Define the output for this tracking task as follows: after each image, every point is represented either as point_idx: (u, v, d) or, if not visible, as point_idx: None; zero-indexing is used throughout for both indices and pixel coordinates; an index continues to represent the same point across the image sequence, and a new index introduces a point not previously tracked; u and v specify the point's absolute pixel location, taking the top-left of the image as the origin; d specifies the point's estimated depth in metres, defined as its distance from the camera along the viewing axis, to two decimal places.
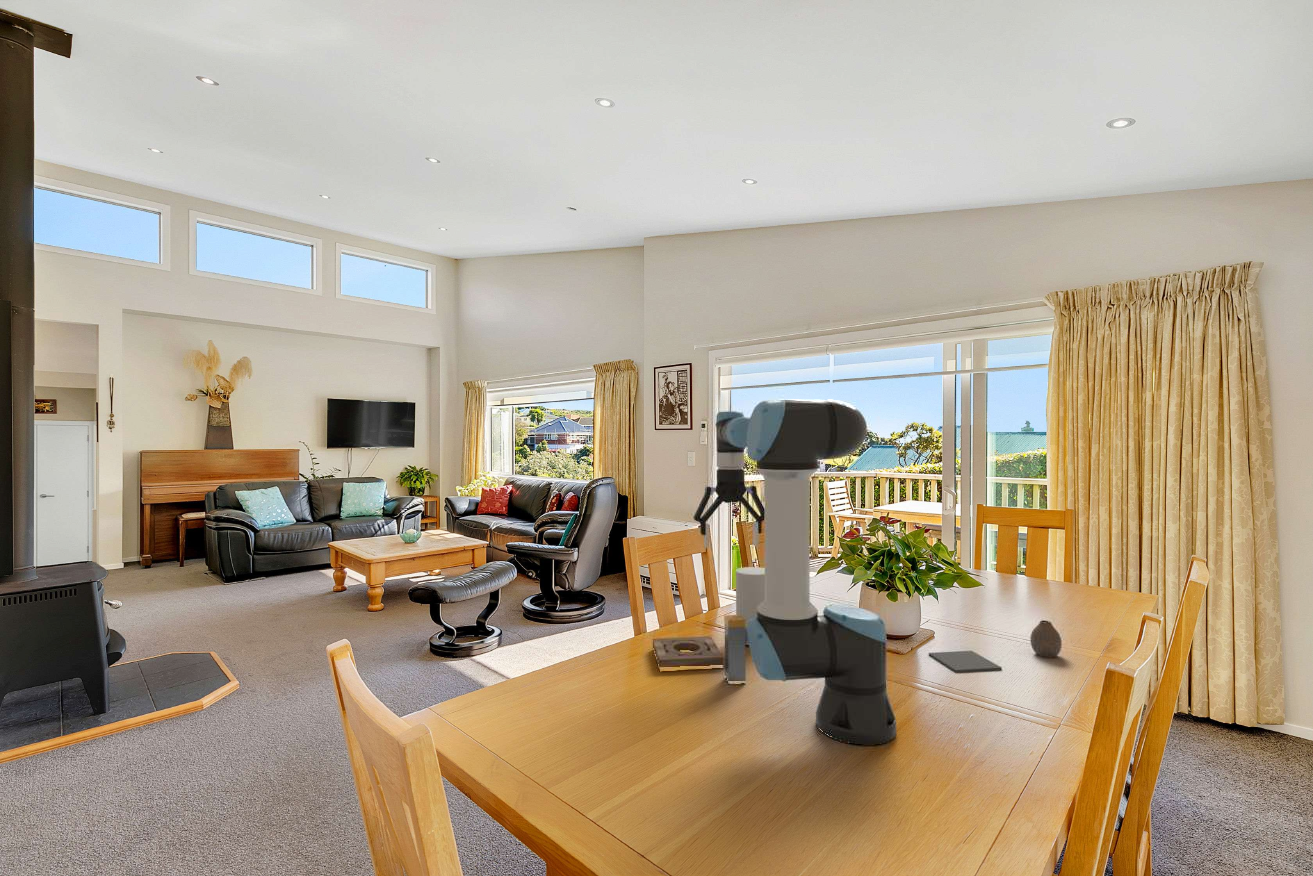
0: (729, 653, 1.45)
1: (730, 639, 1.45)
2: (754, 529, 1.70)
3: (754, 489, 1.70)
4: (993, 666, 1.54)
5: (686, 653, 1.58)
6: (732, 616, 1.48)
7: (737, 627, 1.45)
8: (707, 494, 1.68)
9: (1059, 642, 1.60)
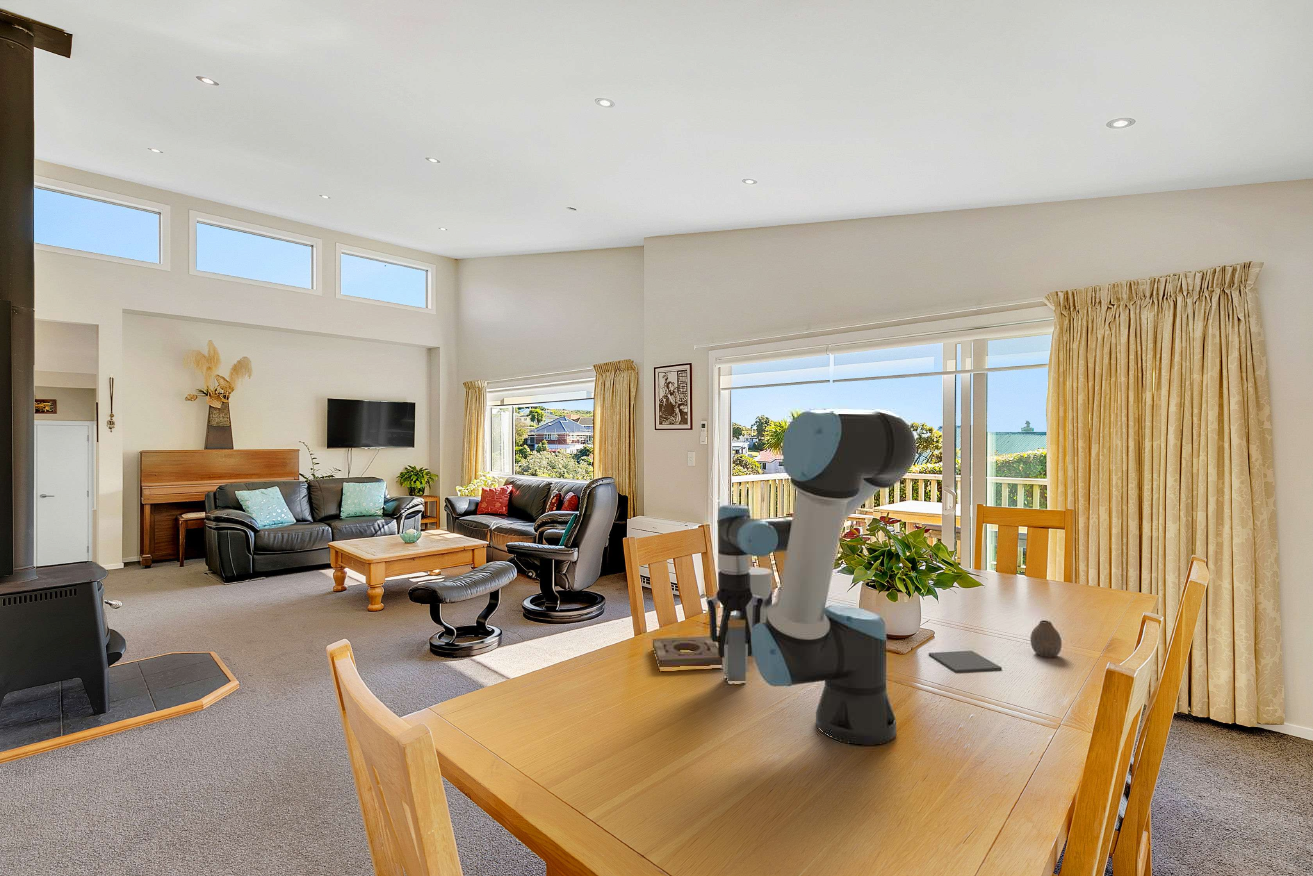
0: (729, 653, 1.45)
1: (730, 639, 1.45)
2: None
3: (760, 602, 1.47)
4: (993, 666, 1.54)
5: (686, 653, 1.58)
6: (732, 616, 1.48)
7: (737, 627, 1.45)
8: (711, 609, 1.46)
9: (1059, 642, 1.60)
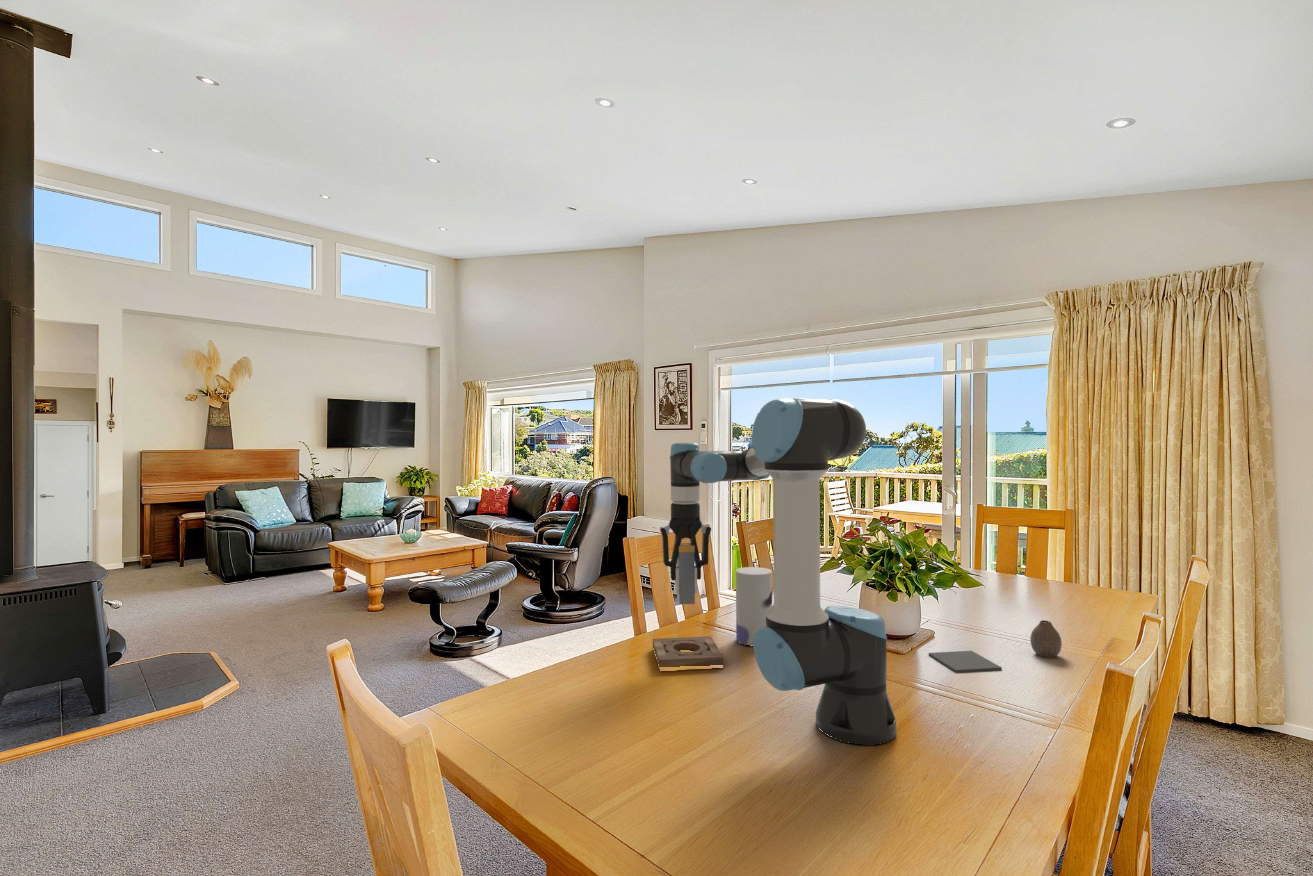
0: (680, 575, 1.60)
1: (681, 563, 1.60)
2: None
3: (708, 530, 1.62)
4: (993, 666, 1.54)
5: (686, 653, 1.58)
6: (683, 543, 1.63)
7: (687, 552, 1.60)
8: (664, 536, 1.60)
9: (1059, 642, 1.60)
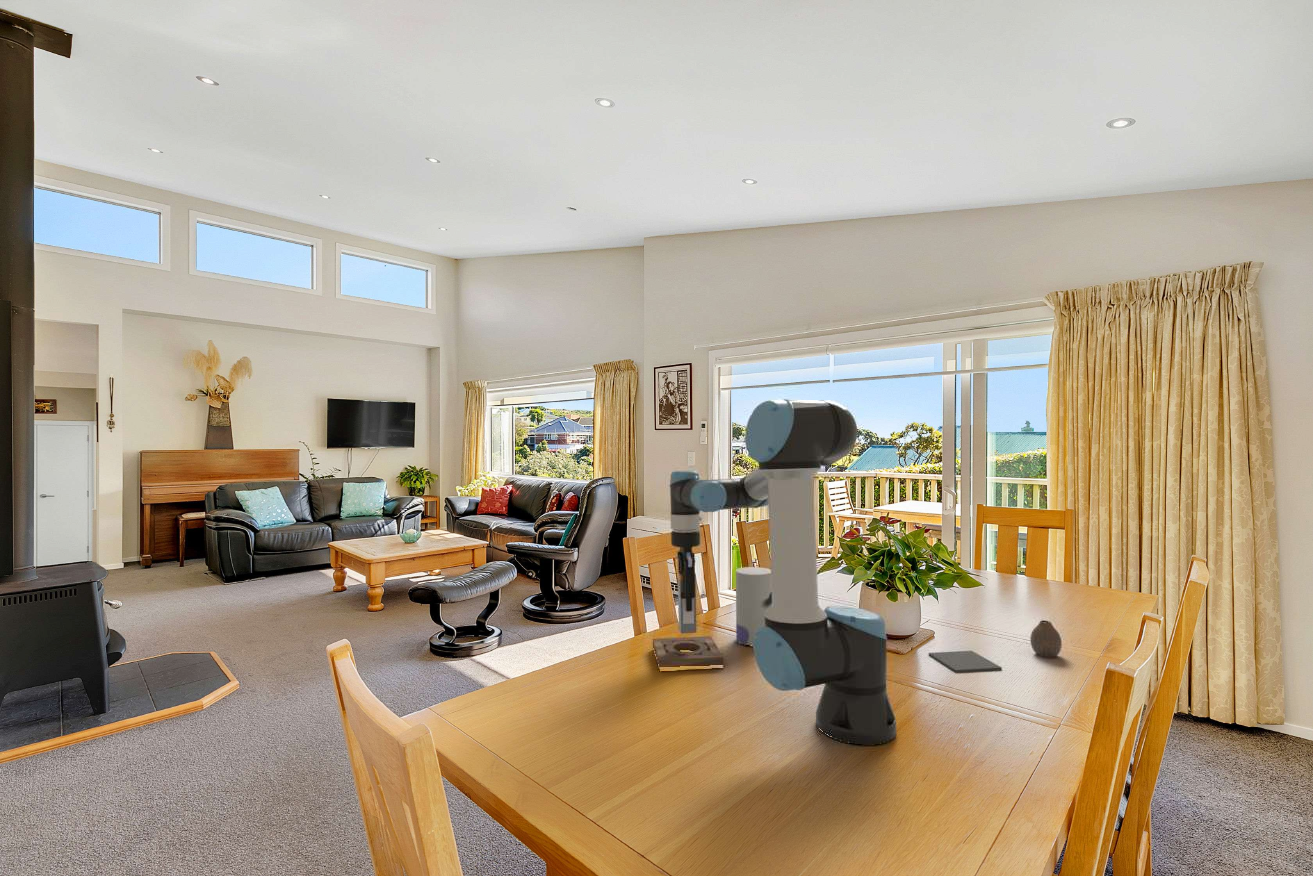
0: (678, 601, 1.64)
1: (678, 589, 1.63)
2: None
3: (684, 563, 1.56)
4: (993, 666, 1.54)
5: (686, 653, 1.58)
6: None
7: (678, 579, 1.62)
8: None
9: (1059, 642, 1.60)
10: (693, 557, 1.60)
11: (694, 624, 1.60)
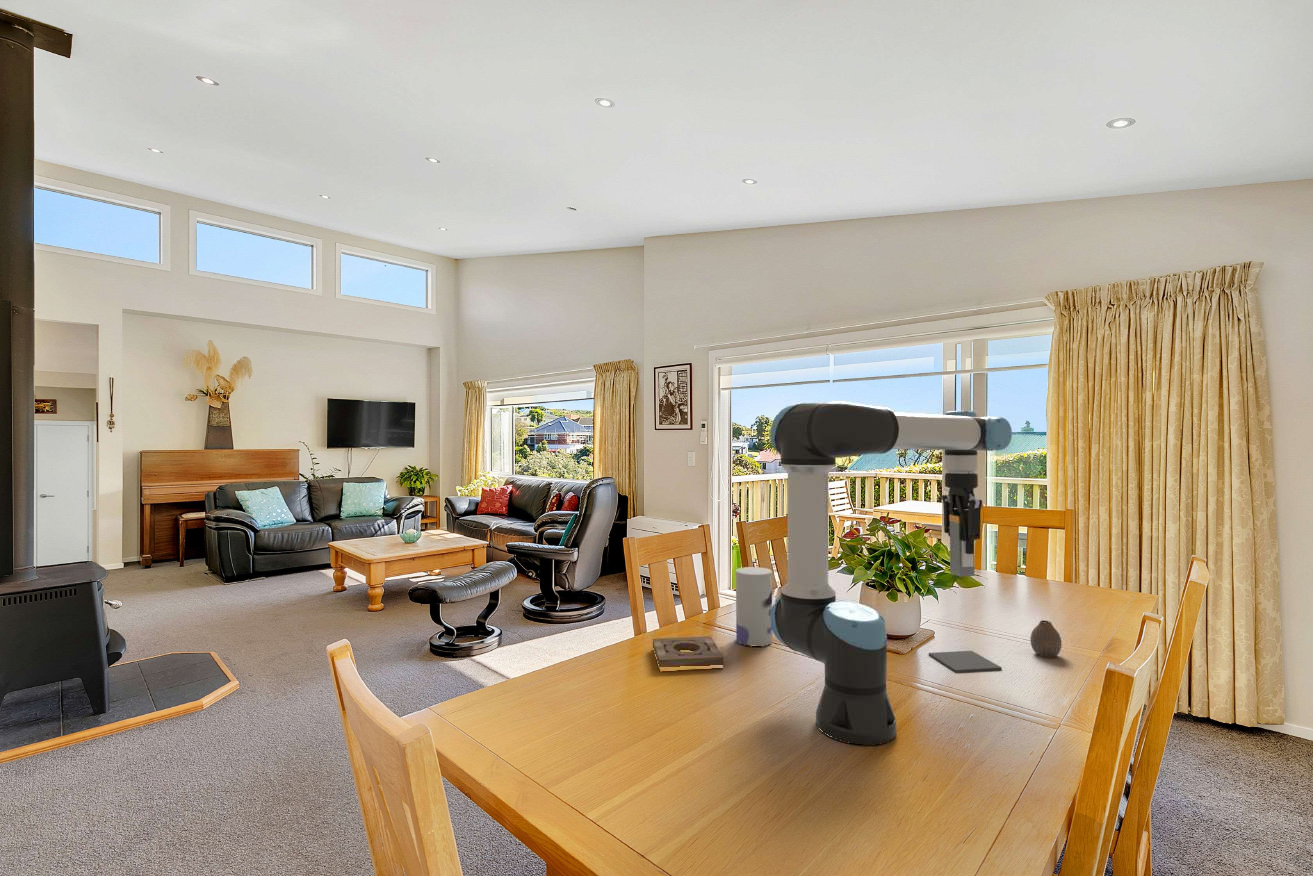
0: (950, 544, 1.60)
1: (951, 532, 1.59)
2: None
3: (971, 503, 1.52)
4: (993, 666, 1.54)
5: (686, 653, 1.58)
6: None
7: (954, 522, 1.58)
8: (943, 503, 1.64)
9: (1059, 642, 1.60)
10: None
11: (972, 567, 1.56)
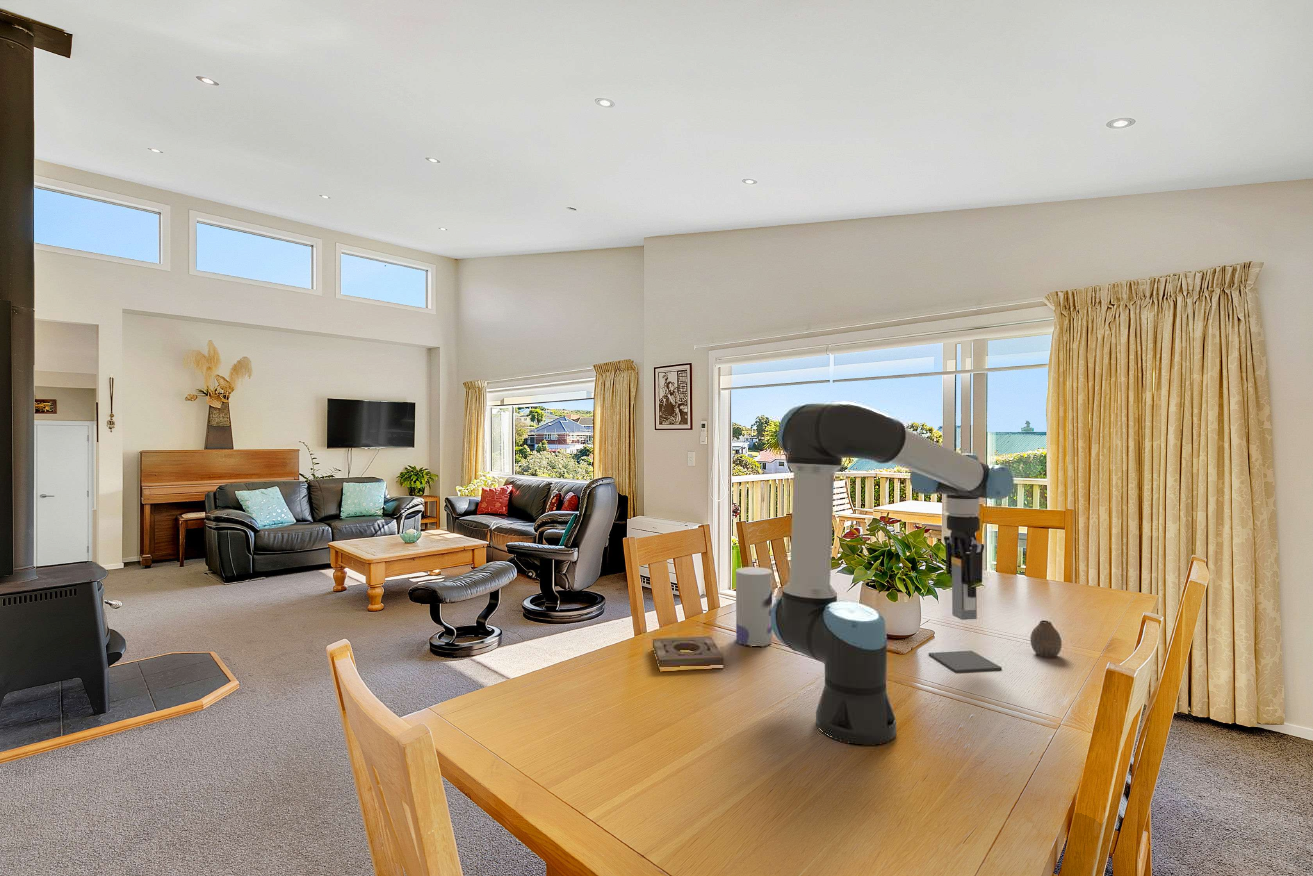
0: (952, 586, 1.60)
1: (953, 574, 1.59)
2: None
3: (973, 548, 1.52)
4: (993, 666, 1.54)
5: (686, 653, 1.58)
6: None
7: (956, 565, 1.58)
8: (945, 544, 1.64)
9: (1059, 642, 1.60)
10: None
11: (974, 610, 1.56)
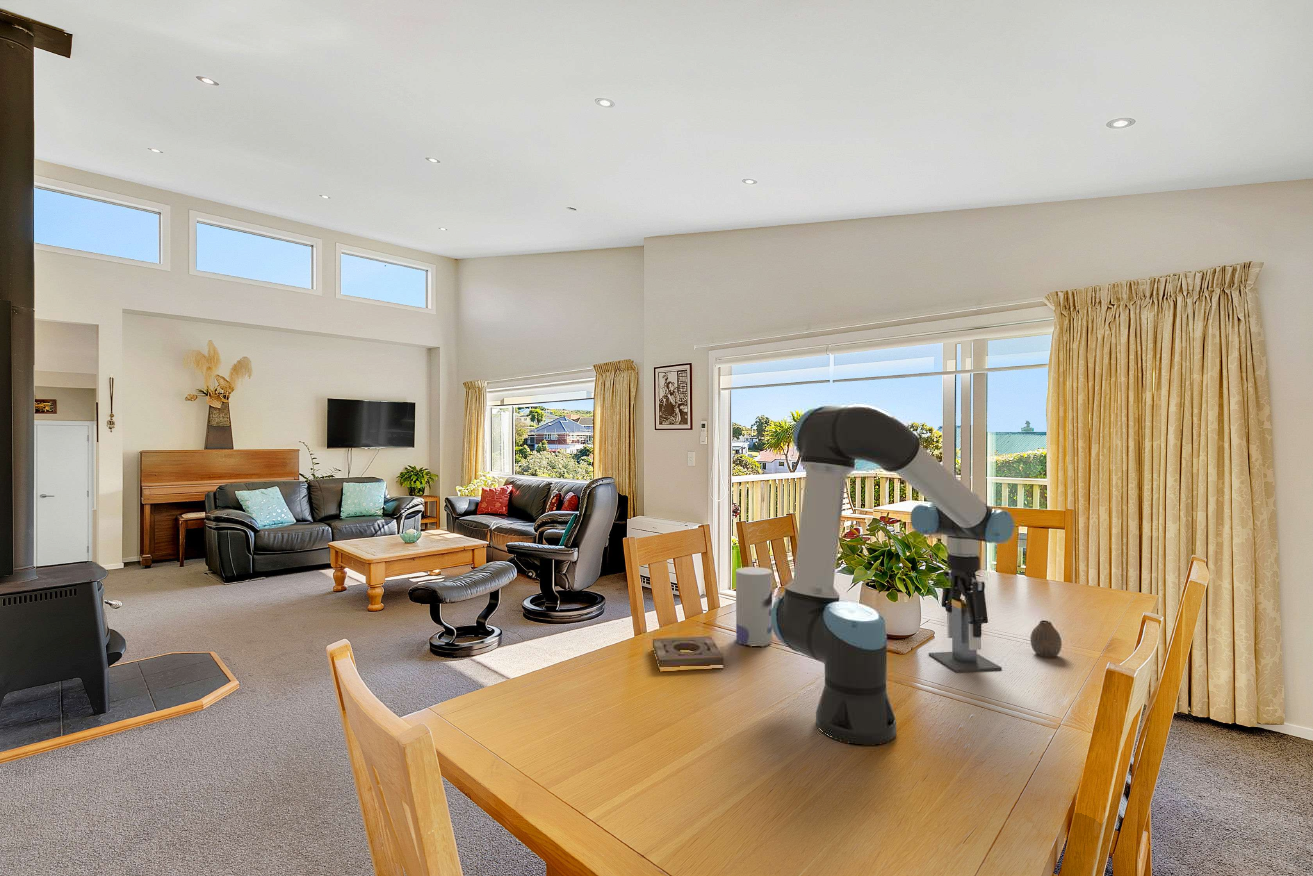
0: (952, 629, 1.60)
1: (953, 617, 1.59)
2: None
3: (973, 586, 1.52)
4: (993, 666, 1.54)
5: (686, 653, 1.58)
6: None
7: (956, 608, 1.58)
8: None
9: (1059, 642, 1.60)
10: None
11: (974, 653, 1.56)
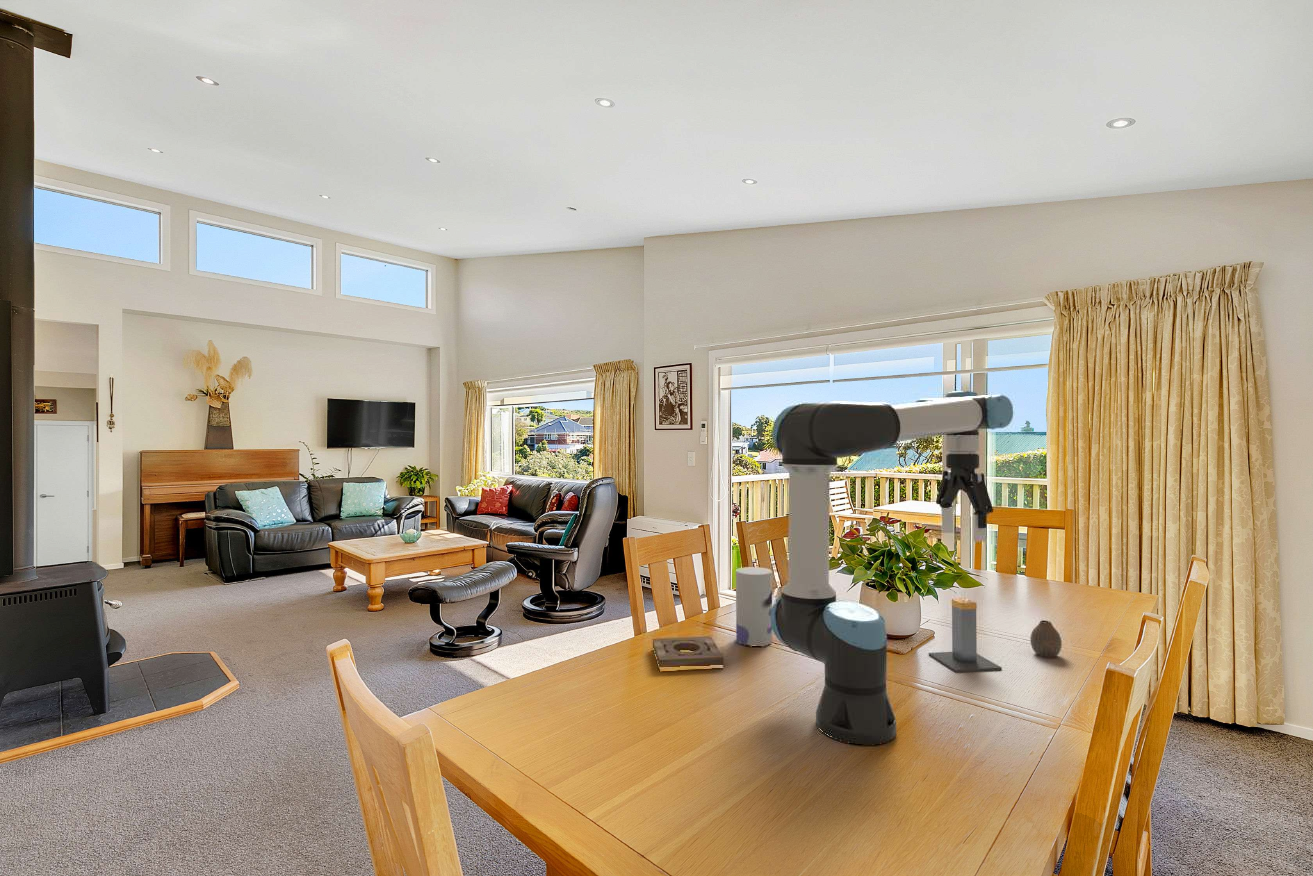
0: (952, 629, 1.60)
1: (953, 617, 1.59)
2: None
3: (973, 477, 1.52)
4: (993, 666, 1.54)
5: (686, 653, 1.58)
6: (966, 600, 1.58)
7: (956, 608, 1.58)
8: (943, 478, 1.64)
9: (1059, 642, 1.60)
10: None
11: (974, 653, 1.56)
